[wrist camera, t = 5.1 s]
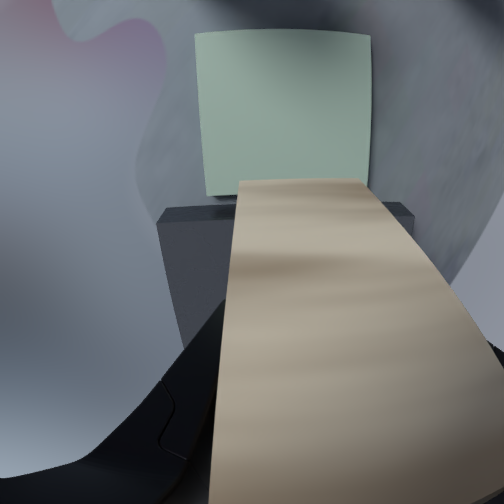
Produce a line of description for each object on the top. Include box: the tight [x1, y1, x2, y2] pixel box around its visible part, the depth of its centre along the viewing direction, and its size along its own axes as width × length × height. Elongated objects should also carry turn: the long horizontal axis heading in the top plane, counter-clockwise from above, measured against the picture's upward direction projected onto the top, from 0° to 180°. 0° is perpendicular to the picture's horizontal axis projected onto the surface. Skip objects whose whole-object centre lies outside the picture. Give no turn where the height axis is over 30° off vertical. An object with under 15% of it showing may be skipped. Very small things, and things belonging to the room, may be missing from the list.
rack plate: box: [156, 202, 415, 349], centre depth 22 cm, size 12×16×3 cm
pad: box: [195, 29, 371, 196], centre depth 17 cm, size 10×10×1 cm
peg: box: [208, 178, 504, 504], centre depth 8 cm, size 4×4×11 cm
